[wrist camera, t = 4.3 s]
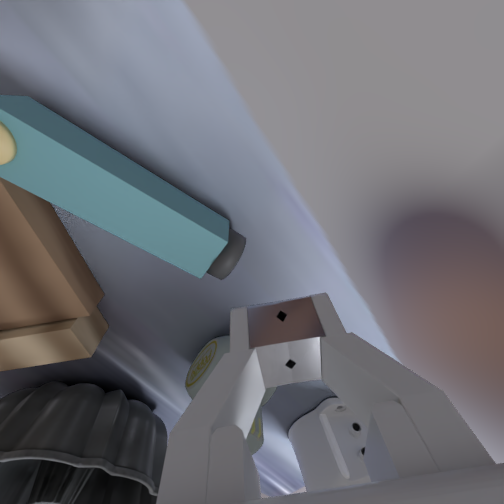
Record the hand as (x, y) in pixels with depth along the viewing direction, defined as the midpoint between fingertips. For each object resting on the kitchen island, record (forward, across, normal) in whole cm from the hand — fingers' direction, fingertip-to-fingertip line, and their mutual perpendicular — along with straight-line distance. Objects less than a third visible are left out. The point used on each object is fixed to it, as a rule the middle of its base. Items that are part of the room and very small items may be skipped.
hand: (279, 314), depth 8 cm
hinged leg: (+15, -9, +1) cm, 17 cm away
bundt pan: (+15, -29, -30) cm, 44 cm away
